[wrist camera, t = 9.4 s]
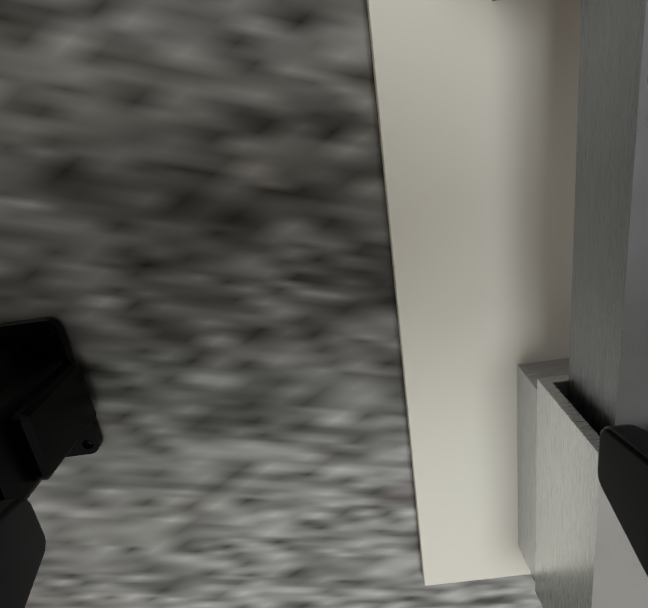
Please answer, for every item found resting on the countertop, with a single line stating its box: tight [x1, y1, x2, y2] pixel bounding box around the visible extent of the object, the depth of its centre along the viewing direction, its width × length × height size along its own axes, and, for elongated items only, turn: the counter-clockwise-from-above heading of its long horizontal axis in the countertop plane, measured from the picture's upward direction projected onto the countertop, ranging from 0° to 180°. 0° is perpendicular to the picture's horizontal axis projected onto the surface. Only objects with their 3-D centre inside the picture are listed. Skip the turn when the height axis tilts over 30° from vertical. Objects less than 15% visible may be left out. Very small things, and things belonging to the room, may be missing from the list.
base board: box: [367, 0, 582, 586], centre depth 20 cm, size 14×32×1 cm, turn 8°
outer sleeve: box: [517, 358, 648, 608], centre depth 20 cm, size 5×11×7 cm, turn 8°
